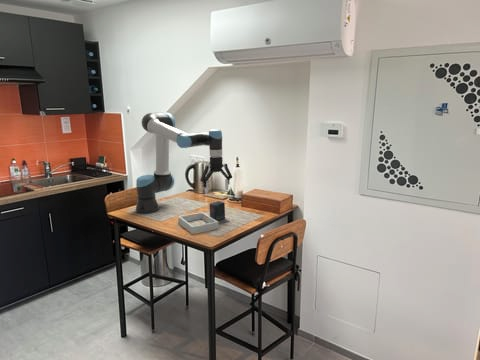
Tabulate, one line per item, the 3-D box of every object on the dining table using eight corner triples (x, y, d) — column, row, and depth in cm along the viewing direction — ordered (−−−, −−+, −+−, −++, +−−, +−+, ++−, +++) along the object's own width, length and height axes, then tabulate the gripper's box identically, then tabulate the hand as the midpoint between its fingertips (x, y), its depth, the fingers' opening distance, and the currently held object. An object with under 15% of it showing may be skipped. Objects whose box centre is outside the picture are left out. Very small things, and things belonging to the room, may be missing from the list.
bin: (178, 222, 209) (178, 216, 208) (202, 218, 217) (202, 211, 216) (192, 234, 191) (192, 227, 190) (218, 228, 198) (218, 221, 198)
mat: (206, 219, 215) (206, 218, 215) (220, 216, 220) (220, 215, 220) (214, 224, 205) (214, 223, 205) (229, 221, 210) (229, 220, 210)
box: (219, 216, 217) (218, 200, 215) (225, 218, 213) (225, 202, 211) (209, 220, 211) (209, 203, 209) (215, 222, 207) (215, 205, 205)
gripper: (199, 159, 194) (200, 195, 199) (237, 155, 207) (237, 189, 211) (193, 157, 201) (195, 192, 205) (231, 153, 213) (231, 187, 218)
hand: (216, 191), depth 208 cm, fingers open, 13 cm apart
